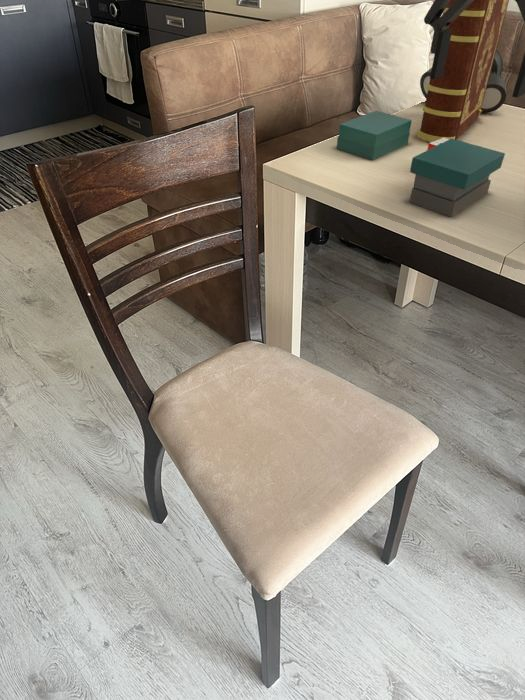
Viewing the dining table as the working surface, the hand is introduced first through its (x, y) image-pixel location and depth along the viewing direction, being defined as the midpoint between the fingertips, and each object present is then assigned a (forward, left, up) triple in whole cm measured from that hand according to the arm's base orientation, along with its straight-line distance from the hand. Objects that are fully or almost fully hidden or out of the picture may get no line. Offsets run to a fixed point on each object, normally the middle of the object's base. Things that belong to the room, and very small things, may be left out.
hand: (475, 86), depth 85 cm
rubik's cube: (+7, -11, -18) cm, 22 cm away
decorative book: (+18, -33, -18) cm, 42 cm away
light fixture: (+25, -55, -19) cm, 63 cm away
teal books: (+24, -12, -18) cm, 32 cm away
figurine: (+18, -45, -12) cm, 50 cm away
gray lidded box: (0, 0, -18) cm, 18 cm away
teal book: (0, 0, -13) cm, 13 cm away
